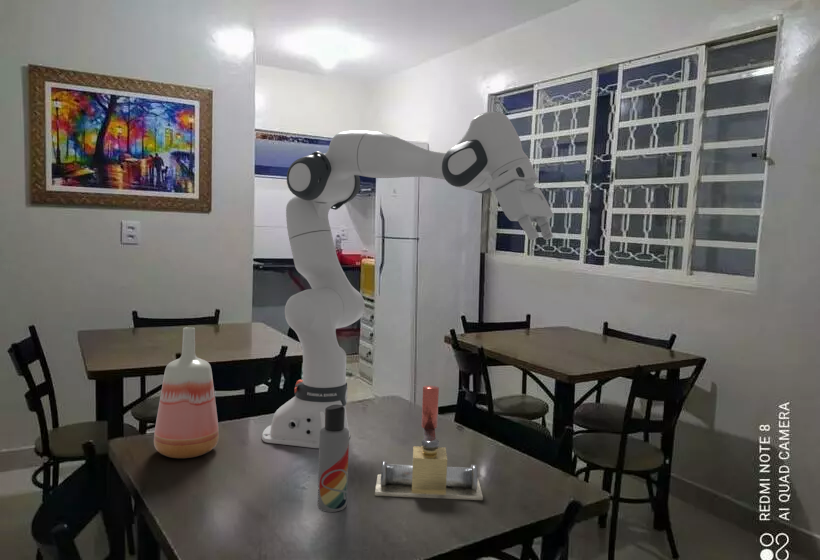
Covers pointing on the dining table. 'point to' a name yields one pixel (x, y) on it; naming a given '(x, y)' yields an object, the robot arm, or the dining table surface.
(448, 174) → the robot arm
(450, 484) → the pipe valve
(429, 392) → the lever
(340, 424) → the lotion bottle
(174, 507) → the dining table surface
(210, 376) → the vase
